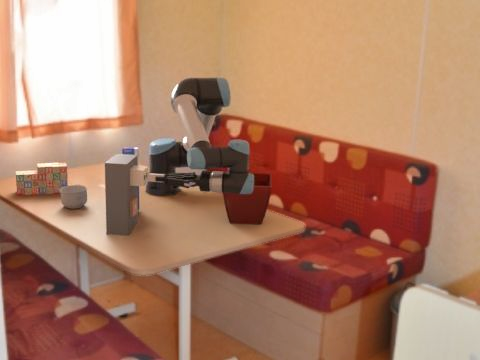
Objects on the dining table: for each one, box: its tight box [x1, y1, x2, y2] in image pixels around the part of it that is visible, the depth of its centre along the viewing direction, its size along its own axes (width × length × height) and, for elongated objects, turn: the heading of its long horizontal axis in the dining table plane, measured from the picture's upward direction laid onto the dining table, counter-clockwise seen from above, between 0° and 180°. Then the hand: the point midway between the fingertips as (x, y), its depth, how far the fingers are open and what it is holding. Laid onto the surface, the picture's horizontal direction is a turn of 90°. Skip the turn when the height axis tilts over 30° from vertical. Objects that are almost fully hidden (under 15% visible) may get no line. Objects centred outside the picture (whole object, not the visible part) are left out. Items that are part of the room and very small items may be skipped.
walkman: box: [121, 147, 140, 159], centre depth 318 cm, size 8×3×12 cm, turn 102°
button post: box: [104, 153, 139, 237], centre depth 238 cm, size 8×14×27 cm, turn 173°
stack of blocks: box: [15, 162, 69, 196], centre depth 280 cm, size 21×6×12 cm, turn 108°
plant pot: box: [222, 172, 273, 225], centre depth 255 cm, size 19×19×17 cm
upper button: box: [130, 165, 149, 187], centre depth 236 cm, size 8×6×6 cm
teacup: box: [59, 183, 88, 210], centre depth 265 cm, size 14×11×8 cm
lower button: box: [130, 196, 139, 217], centre depth 239 cm, size 8×6×6 cm
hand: (147, 177), depth 235 cm, fingers closed
